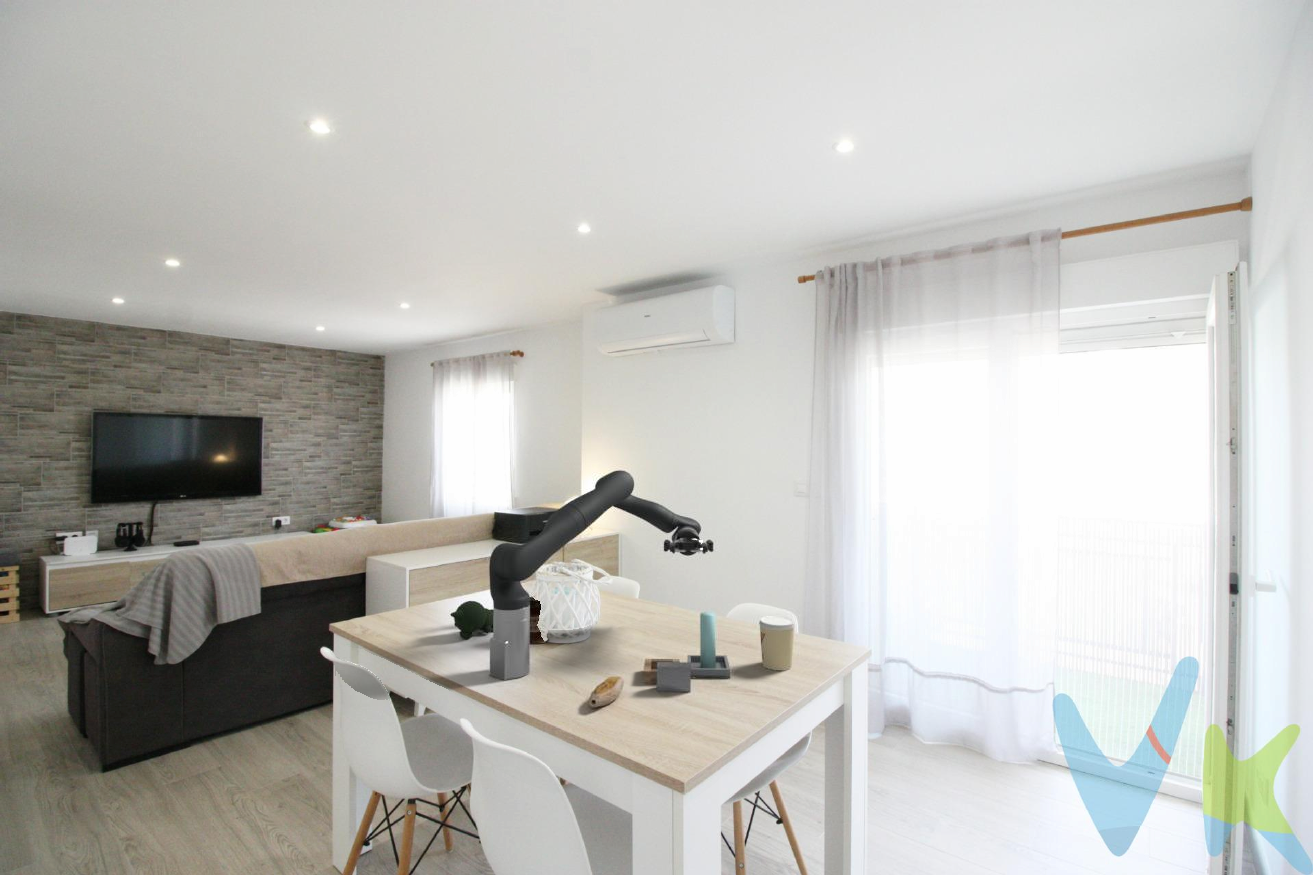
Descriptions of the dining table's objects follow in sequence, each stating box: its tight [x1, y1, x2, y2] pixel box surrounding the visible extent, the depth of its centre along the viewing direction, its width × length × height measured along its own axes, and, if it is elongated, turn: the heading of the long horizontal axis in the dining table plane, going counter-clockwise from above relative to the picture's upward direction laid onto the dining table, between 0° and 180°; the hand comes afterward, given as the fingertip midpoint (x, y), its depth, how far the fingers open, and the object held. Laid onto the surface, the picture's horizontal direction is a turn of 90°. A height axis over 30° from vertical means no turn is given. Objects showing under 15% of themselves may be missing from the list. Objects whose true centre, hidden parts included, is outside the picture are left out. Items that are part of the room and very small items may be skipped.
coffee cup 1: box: [530, 596, 545, 644], centre depth 182 cm, size 9×8×13 cm
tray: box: [686, 654, 731, 679], centre depth 157 cm, size 11×11×2 cm
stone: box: [588, 676, 625, 708], centre depth 139 cm, size 5×14×4 cm, turn 156°
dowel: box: [699, 611, 717, 668], centre depth 158 cm, size 4×4×14 cm
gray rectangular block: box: [656, 661, 692, 693], centre depth 145 cm, size 3×8×6 cm, turn 89°
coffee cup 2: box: [758, 615, 796, 671], centre depth 161 cm, size 9×9×12 cm
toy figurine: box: [449, 600, 493, 640], centre depth 189 cm, size 9×19×25 cm
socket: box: [643, 658, 681, 685], centre depth 153 cm, size 9×9×3 cm
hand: (689, 549), depth 167 cm, fingers open, 8 cm apart
